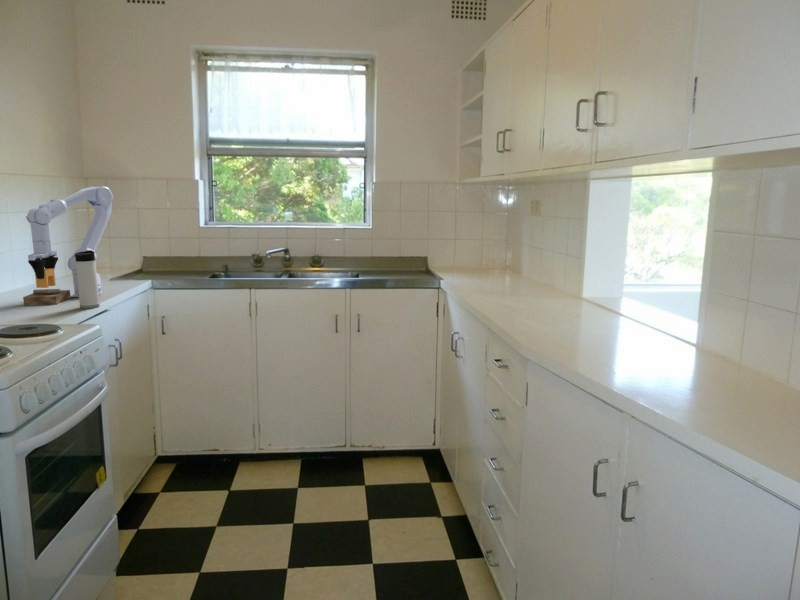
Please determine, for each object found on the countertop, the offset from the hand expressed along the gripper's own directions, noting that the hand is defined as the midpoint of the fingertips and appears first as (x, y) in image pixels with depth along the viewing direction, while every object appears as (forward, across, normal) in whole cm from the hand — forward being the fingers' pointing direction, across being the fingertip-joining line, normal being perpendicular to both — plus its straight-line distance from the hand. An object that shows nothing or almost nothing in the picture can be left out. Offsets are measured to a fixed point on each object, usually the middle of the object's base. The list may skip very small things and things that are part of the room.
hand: (45, 277), depth 227 cm
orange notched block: (+3, 0, 0) cm, 3 cm away
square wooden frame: (+9, 0, 0) cm, 9 cm away
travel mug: (+9, -11, -22) cm, 26 cm away
